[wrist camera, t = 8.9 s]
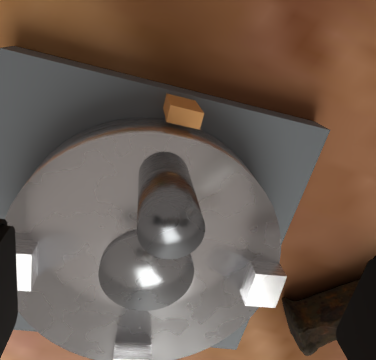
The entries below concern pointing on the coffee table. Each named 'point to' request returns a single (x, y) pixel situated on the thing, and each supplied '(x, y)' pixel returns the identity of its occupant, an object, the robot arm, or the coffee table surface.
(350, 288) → the hand tool
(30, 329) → the gray plinth
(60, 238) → the silver disc
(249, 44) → the coffee table surface
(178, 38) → the coffee table surface
